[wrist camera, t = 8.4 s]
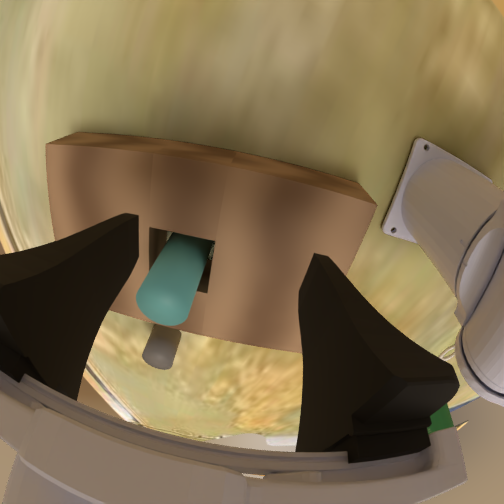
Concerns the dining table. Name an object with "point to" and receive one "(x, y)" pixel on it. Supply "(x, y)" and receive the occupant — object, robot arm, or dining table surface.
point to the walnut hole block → (213, 224)
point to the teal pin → (174, 279)
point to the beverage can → (440, 420)
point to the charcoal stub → (161, 347)
